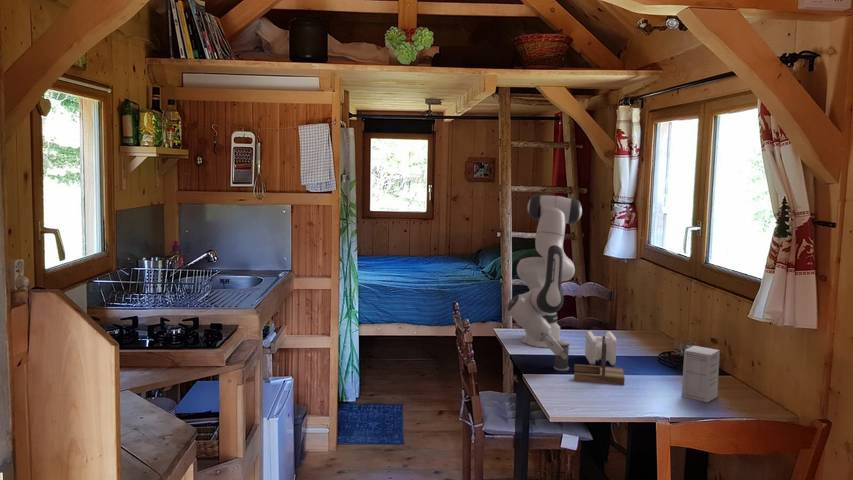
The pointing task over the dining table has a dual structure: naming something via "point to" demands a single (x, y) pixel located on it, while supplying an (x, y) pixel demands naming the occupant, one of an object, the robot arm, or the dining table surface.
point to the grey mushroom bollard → (559, 361)
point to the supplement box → (700, 373)
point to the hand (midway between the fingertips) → (563, 355)
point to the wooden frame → (599, 371)
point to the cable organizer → (600, 347)
